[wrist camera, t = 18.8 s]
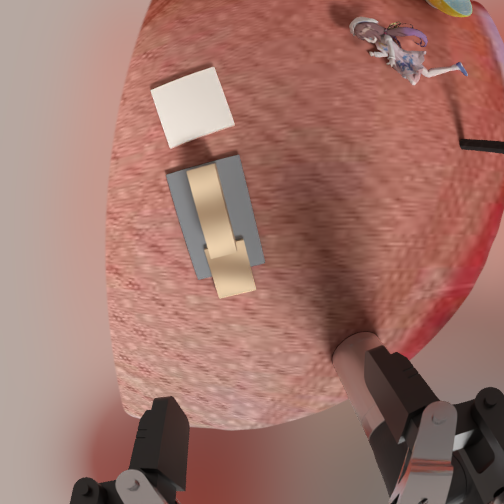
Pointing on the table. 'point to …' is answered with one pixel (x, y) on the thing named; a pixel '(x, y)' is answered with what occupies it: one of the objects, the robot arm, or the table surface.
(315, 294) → the table surface
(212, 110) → the tile
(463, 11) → the bowl
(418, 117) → the table surface
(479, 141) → the solar garden light
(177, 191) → the mat
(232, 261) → the beige wooden bar
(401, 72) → the figurine
